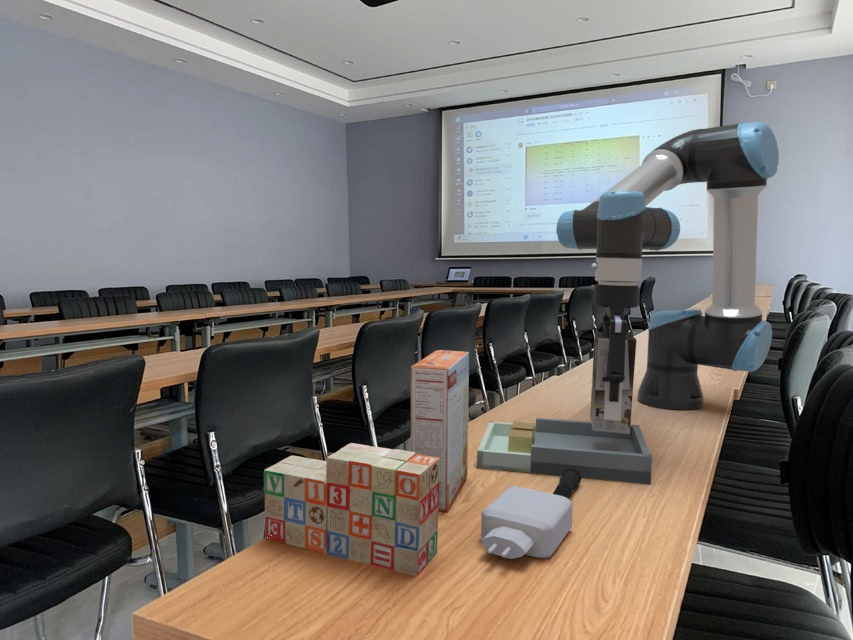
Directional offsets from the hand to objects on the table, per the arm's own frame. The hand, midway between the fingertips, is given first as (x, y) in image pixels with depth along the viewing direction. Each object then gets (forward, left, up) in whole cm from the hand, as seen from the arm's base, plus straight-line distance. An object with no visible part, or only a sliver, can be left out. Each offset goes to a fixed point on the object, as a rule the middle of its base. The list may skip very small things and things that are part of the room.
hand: (609, 412), depth 107 cm
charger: (+13, +35, -9) cm, 38 cm away
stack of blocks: (+33, +40, -9) cm, 53 cm away
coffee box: (0, 0, -3) cm, 3 cm away
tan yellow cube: (+15, +2, -8) cm, 17 cm away
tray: (+17, 0, -9) cm, 20 cm away
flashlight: (+8, +20, -10) cm, 24 cm away
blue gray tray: (+3, 0, -9) cm, 10 cm away
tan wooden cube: (+15, -3, -8) cm, 17 cm away
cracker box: (+26, +21, -9) cm, 35 cm away
